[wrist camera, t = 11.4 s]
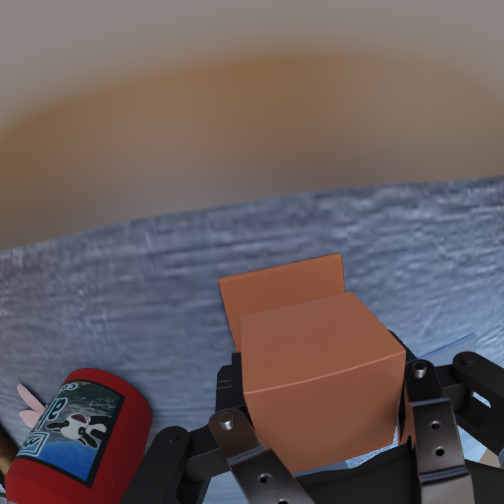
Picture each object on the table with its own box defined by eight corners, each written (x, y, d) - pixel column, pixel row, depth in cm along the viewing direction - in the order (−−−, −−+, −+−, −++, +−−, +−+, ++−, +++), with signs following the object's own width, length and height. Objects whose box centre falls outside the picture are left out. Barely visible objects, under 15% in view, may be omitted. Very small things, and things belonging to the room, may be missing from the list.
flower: (1, 369, 18) (-9, 375, 17) (57, 366, 17) (44, 376, 15) (50, 451, 20) (43, 459, 18) (118, 465, 18) (111, 477, 16)
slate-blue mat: (396, 423, 20) (398, 428, 19) (404, 363, 18) (408, 367, 18) (459, 394, 20) (462, 397, 19) (473, 332, 18) (477, 336, 18)
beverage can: (107, 346, 16) (20, 500, 5) (174, 415, 18) (149, 569, 6) (53, 379, 17) (-21, 494, 5) (113, 437, 19) (75, 557, 7)
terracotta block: (260, 399, 14) (270, 477, 9) (239, 315, 13) (242, 393, 8) (355, 376, 14) (392, 444, 9) (351, 290, 13) (407, 350, 8)
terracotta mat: (244, 374, 17) (244, 380, 17) (218, 278, 16) (218, 281, 15) (346, 351, 17) (349, 356, 17) (338, 252, 16) (341, 255, 15)
